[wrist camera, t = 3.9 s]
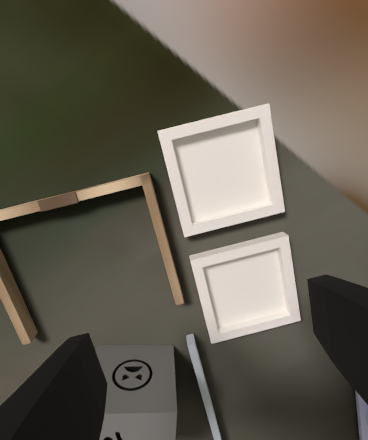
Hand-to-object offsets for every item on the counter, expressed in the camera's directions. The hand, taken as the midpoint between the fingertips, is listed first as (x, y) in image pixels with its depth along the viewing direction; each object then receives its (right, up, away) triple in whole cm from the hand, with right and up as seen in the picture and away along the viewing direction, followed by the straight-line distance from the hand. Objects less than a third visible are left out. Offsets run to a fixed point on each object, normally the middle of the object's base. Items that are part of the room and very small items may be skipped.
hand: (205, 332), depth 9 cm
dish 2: (+3, -1, +9) cm, 10 cm away
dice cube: (-4, -7, +11) cm, 13 cm away
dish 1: (+2, +6, +7) cm, 10 cm away
